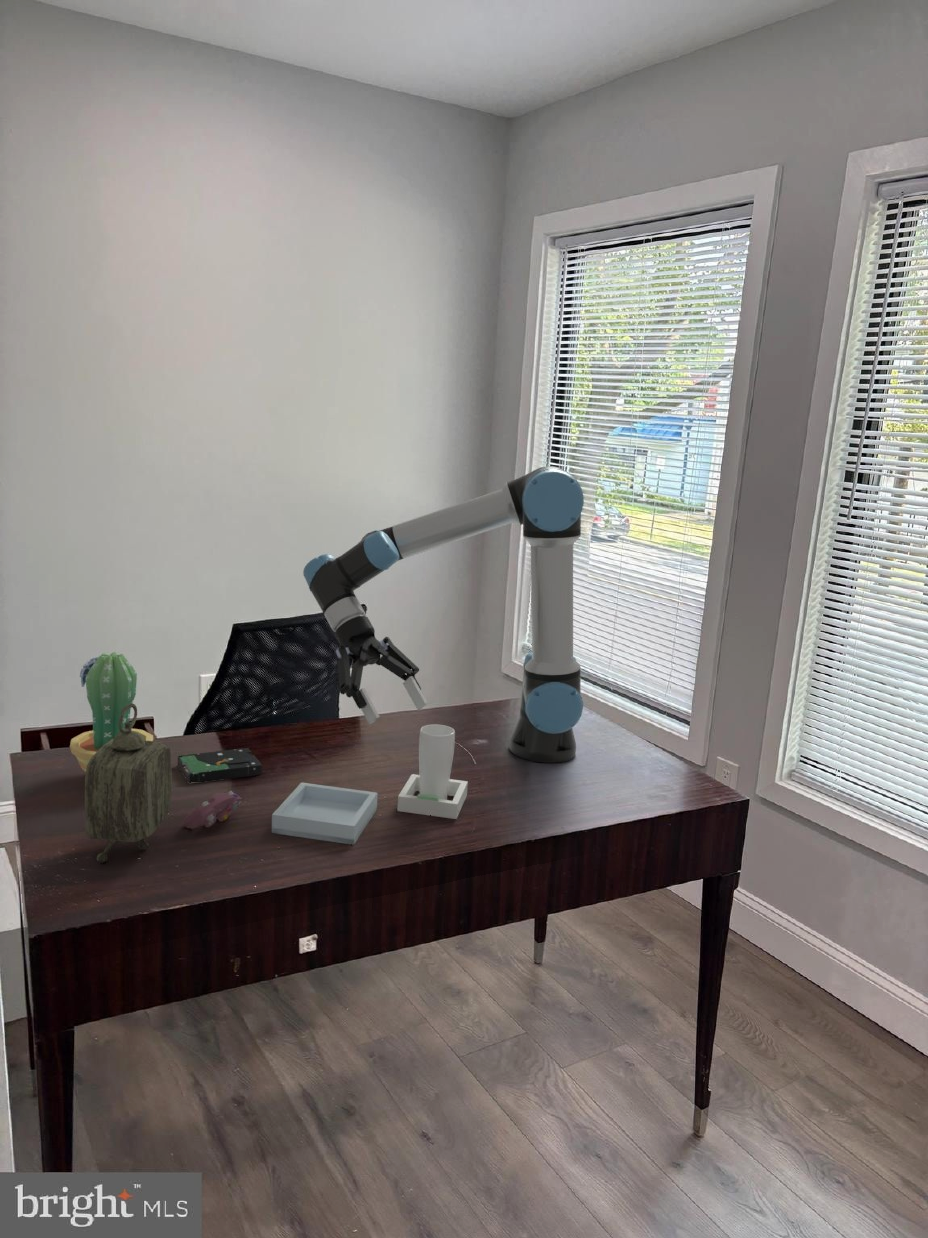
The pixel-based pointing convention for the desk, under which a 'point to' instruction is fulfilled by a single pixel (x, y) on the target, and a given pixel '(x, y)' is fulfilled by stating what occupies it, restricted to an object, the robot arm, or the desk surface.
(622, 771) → the desk surface
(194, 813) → the pink toy figurine
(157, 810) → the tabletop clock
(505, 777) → the desk surface
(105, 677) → the potted cactus
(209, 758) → the disk drive
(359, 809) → the tray
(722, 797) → the desk surface
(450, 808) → the frame
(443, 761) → the drinking glass
